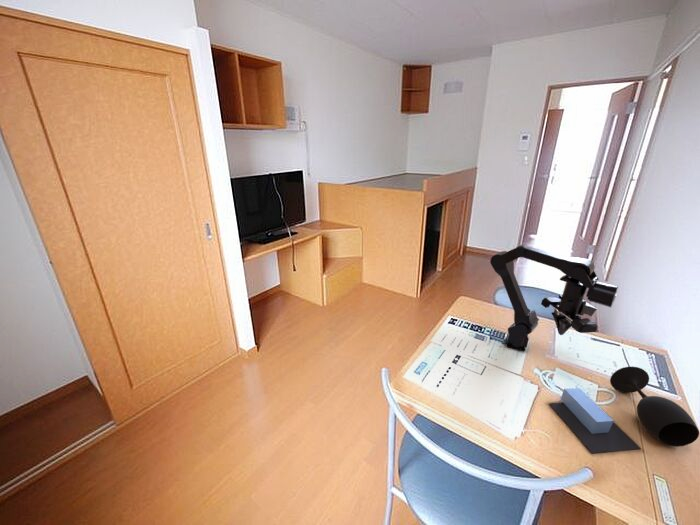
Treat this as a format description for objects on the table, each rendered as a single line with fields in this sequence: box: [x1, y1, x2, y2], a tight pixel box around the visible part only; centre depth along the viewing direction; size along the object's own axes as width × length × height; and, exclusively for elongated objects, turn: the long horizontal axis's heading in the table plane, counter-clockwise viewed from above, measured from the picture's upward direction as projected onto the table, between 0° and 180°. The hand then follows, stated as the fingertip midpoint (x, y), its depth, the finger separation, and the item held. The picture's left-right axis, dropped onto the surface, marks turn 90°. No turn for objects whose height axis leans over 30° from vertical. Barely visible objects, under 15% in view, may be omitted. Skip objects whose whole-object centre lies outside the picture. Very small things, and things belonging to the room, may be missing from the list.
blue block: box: [560, 387, 614, 434], centre depth 89 cm, size 4×5×12 cm
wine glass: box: [609, 366, 700, 448], centre depth 88 cm, size 10×10×20 cm
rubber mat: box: [548, 401, 641, 454], centre depth 87 cm, size 16×14×1 cm
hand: (560, 334), depth 108 cm, fingers closed
